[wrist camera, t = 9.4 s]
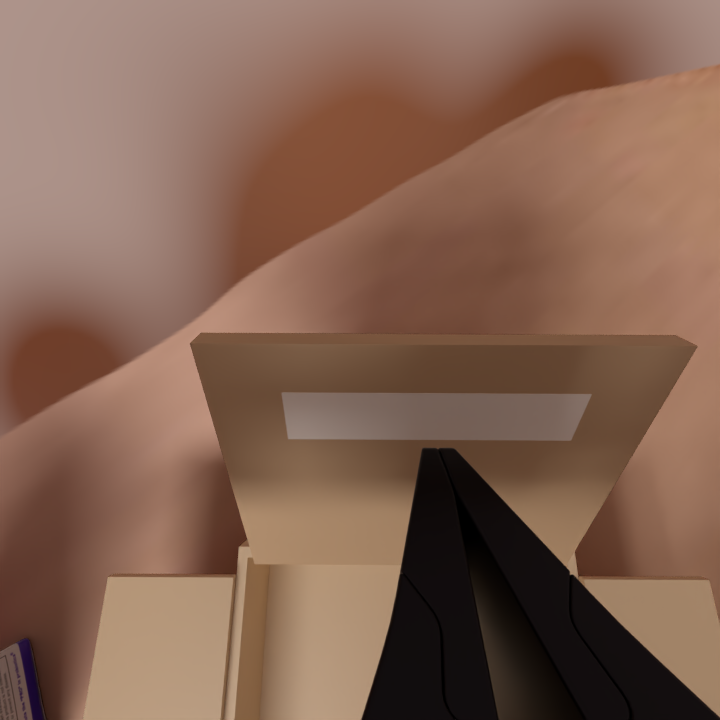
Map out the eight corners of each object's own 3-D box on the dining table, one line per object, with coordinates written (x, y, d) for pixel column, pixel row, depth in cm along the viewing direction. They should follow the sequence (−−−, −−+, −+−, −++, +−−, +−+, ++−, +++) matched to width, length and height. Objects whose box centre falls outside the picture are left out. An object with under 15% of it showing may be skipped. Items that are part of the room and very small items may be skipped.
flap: (565, 566, 12) (698, 346, 7) (254, 564, 12) (189, 343, 7) (557, 549, 13) (674, 334, 8) (259, 548, 13) (201, 332, 8)
